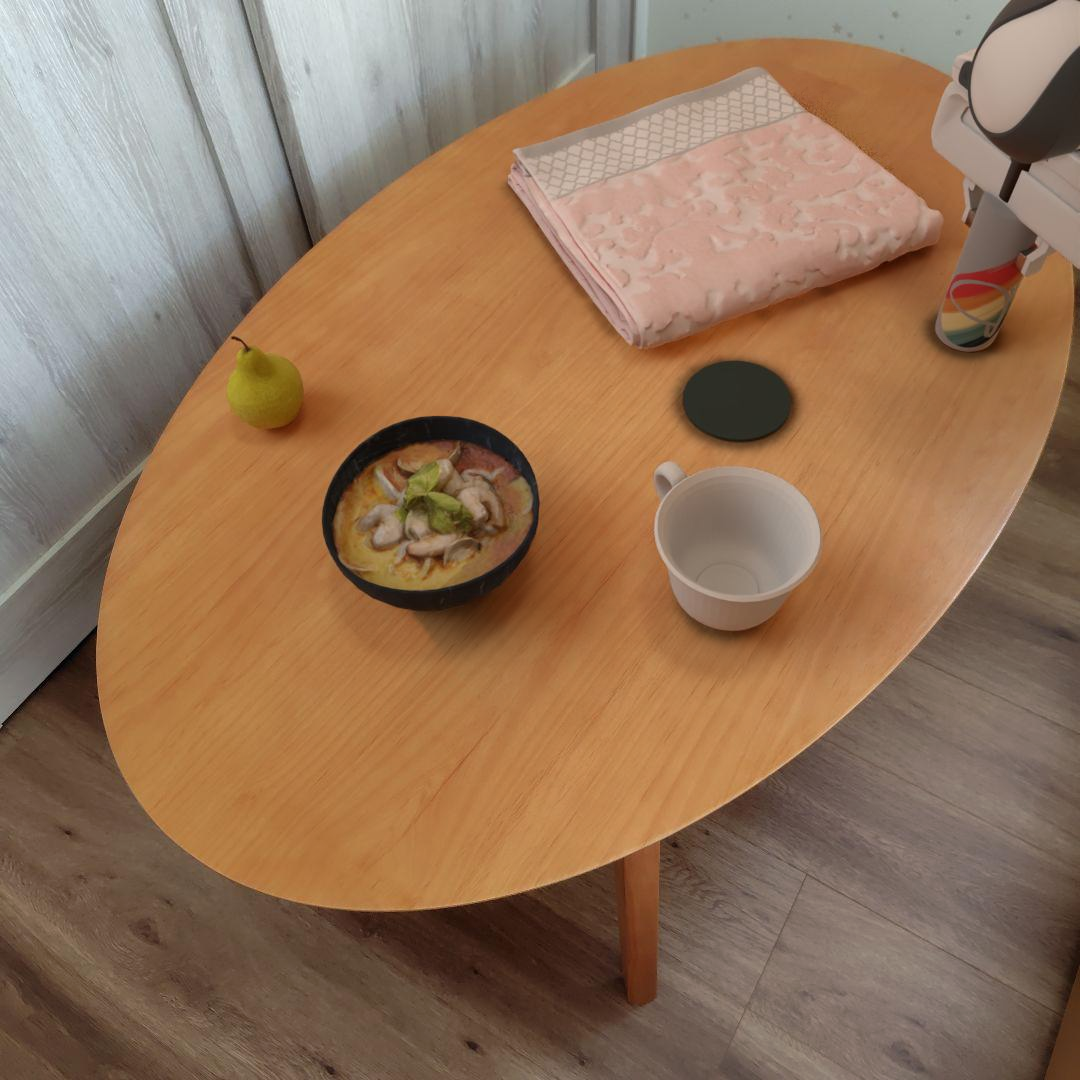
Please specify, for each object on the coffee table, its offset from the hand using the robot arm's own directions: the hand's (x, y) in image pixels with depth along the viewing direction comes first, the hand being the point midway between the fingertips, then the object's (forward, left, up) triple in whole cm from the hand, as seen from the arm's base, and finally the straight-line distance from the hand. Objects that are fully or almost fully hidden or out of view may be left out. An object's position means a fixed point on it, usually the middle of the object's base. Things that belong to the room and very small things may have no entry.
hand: (998, 246), depth 83 cm
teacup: (+36, +15, -10) cm, 40 cm away
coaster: (+24, -2, -10) cm, 26 cm away
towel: (+13, -27, -10) cm, 32 cm away
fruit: (+64, -20, -10) cm, 68 cm away
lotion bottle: (0, 0, -10) cm, 10 cm away
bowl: (+55, +3, -10) cm, 56 cm away
